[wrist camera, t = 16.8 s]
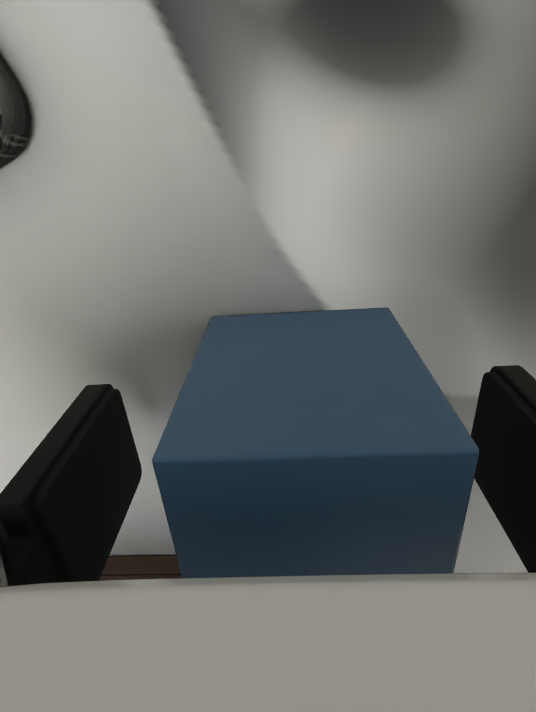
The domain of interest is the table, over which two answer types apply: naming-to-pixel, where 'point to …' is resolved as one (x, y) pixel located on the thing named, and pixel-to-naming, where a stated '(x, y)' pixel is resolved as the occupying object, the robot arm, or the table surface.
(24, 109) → the phone
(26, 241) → the table surface
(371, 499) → the block
